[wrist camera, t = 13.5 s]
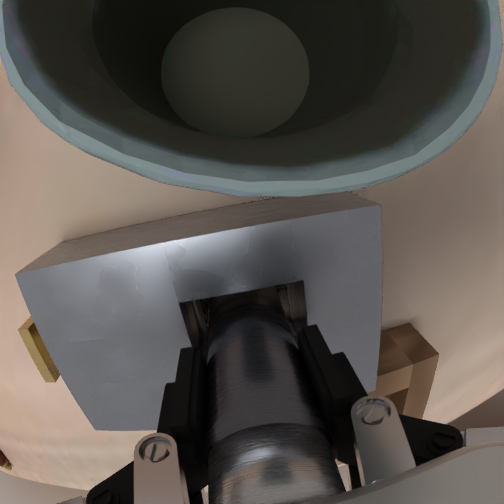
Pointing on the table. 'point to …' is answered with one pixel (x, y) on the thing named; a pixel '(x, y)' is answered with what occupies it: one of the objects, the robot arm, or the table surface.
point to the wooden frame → (405, 370)
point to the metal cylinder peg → (262, 409)
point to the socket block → (201, 293)
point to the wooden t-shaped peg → (43, 356)
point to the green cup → (255, 85)
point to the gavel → (4, 462)
